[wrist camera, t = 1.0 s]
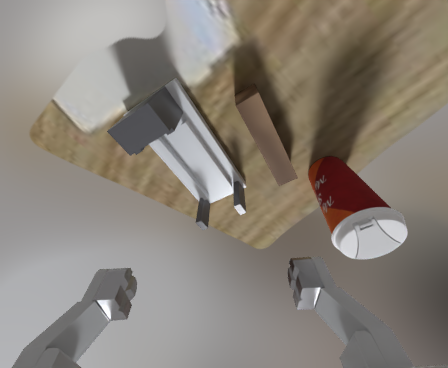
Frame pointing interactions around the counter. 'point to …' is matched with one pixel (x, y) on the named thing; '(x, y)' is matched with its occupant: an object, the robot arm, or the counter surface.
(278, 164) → the slat
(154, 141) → the endcap frame
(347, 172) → the coffee cup
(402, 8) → the counter surface
